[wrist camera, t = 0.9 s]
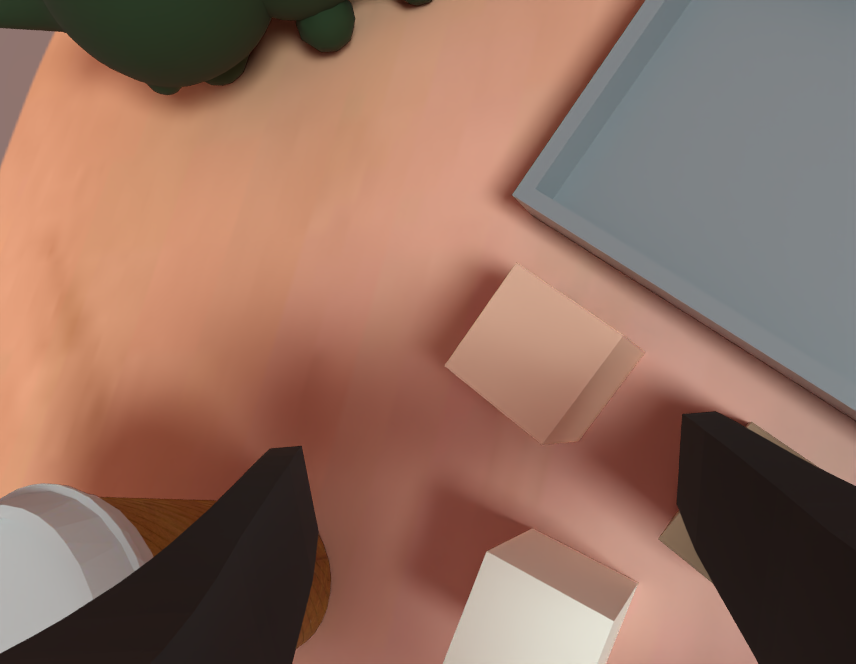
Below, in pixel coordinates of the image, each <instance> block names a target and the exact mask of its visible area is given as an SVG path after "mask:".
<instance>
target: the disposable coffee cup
mask: <svg viewBox="0 0 856 664" xmlns="http://www.w3.org/2000/svg"><path fill="white" fill-rule="evenodd" d="M216 502H217V501H214V500H183V499H147V498H114V497H98V496H96V495H92V494H87V493H85V492H82V491H80V490H78V489H75V488H73V487H71V486H66V485H57V484H35V485H30V486H26V487H23V488H20V489H16V490H15V491H13V492H11V493H9V494H8V495H6V496H4V497H2V498H1V499H0V653H2V652H4V651H6V650H8V649H9V648H11V647H13V646H15V645H17V644H19V643H21V642H23V641H24V640H26V639H28V638H30V637H32V636H34V635H35V634H37V633H39V632H41V631H42V630H44V629H46V628H48V627H50V626H51V625H53V624H55V623H57V622H58V621H60V620H62V619H63V618H65V617H67V616H68V615H70V614H71V613H73V612H74V611H76V610H78V609H79V608H81V607H82V606H84V605H85V604H87V603H88V602H90V601H92V600H93V599H95V598H96V597H98V596H99V595H101V594H102V593H104V592H106V591H107V590H109V589H110V588H112V587H113V586H115V585H116V584H118V583H119V582H121V581H122V580H123V579H125V578H126V577H128V576H129V575H130V574H132V573H133V572H134V571H136V570H137V569H138V568H140V567H141V566H142V565H144V564H145V563H146V562H148V561H149V560H150V559H152V558H153V557H154V556H155V555H157V554H158V553H159V552H161V551H162V550H163V549H164V548H165V547H167V546H168V545H169V544H170V543H171V542H173V541H174V540H175V539H176V538H177V537H178V536H179V535H180V534H182V533H183V532H184V531H185V530H186V529H187V528H188V527H189V526H191V525H192V524H193V523H194V522H195V521H196V520H197V519H198V518H200V517H201V516H202V515H203V514H204V513H205V512H206V511H207V510H208V509H209V508H211V507H212V506H213V505H214V504H215V503H216ZM330 585H331V575H330V567H329V561H328V558H327V554H326V551H325V548H324V545H323V543H322V541H321V538H320V536H319V534H318V542H317V551H316V560H315V568H314V576H313V582H312V586H311V590H310V595H309V599H308V603H307V607H306V611H305V615H304V619H303V623H302V626H301V630H300V634H299V638H298V642H297V646H296V648H298V647H299V646H300V645H302V644H304V643H305V642H306V641H307V640H308V639H309V638H310V637H311V636H312V635H313V634H314V633H315V631H316V630H317V628H318V627H319V625H320V623H321V622H322V619H323V617H324V614H325V612H326V609H327V606H328V600H329V595H330Z"/></svg>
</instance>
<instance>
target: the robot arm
mask: <svg viewBox="0 0 856 664" xmlns="http://www.w3.org/2000/svg"><path fill="white" fill-rule="evenodd" d="M677 506H678V509H679V512H680V514H681V517H682V519H683V522H684V525H685V527H686V530H687V532H688V535H689V537H690V540H691V542H692V544H693V547H694V549H695V551H696V553H697V555H698V557H699V559H700V561H701V563H702V564H703V566H704V568H705V570H706V571H707V573H708V575H709V577H710V579H711V580H712V582H713V584H714V586H715V588H716V589H717V591H718V593H719V595H720V596H721V598H722V600H723V602H724V603H725V605H726V607H727V609H728V610H729V612H730V614H731V616H732V617H733V619H734V621H735V623H736V624H737V626H738V628H739V630H740V631H741V633H742V635H743V637H744V638H745V640H746V642H747V644H748V645H749V647H750V649H751V651H752V652H753V654H754V656H755V658H756V660H757V662H758V664H856V486H854V485H852V484H850V483H848V482H846V481H844V480H842V479H840V478H838V477H836V476H834V475H832V474H830V473H828V472H826V471H824V470H822V469H820V468H818V467H816V466H814V465H813V464H811V463H809V462H807V461H805V460H803V459H801V458H800V457H798V456H796V455H794V454H792V453H791V452H789V451H787V450H785V449H783V448H782V447H780V446H778V445H776V444H775V443H773V442H771V441H769V440H767V439H766V438H764V437H762V436H760V435H759V434H757V433H755V432H753V431H752V430H750V429H748V428H746V427H745V426H743V425H741V424H739V423H737V422H736V421H734V420H732V419H730V418H728V417H726V416H724V415H722V414H720V413H718V412H703V413H691V414H682V427H681V443H680V458H679V474H678V489H677ZM318 533H319V532H318V527H317V522H316V517H315V512H314V507H313V501H312V496H311V491H310V486H309V481H308V476H307V471H306V466H305V461H304V456H303V451H302V446H295V447H283V448H271V449H269V450H268V451H267V452H266V453H265V454H264V455H263V456H262V457H261V458H260V459H259V460H258V461H257V462H256V463H255V464H254V465H253V466H252V467H251V468H250V469H249V470H248V471H247V472H246V473H245V474H244V475H243V476H242V477H241V478H240V479H239V480H238V481H237V482H236V483H235V484H234V485H233V486H232V487H231V488H230V489H229V490H228V491H227V492H226V493H225V494H224V495H223V496H222V497H221V498H220V499H219V500H218V501H217V502H216V503H215V504H214V505H213V506H212V507H211V508H209V509H208V510H207V511H206V512H205V513H204V514H203V515H202V516H201V517H200V518H198V519H197V520H196V521H195V522H194V523H193V524H192V525H191V526H189V527H188V528H187V529H186V530H185V531H184V532H183V533H182V534H180V535H179V536H178V537H177V538H176V539H175V540H174V541H173V542H171V543H170V544H169V545H168V546H167V547H165V548H164V549H163V550H162V551H161V552H159V553H158V554H157V555H155V556H154V557H153V558H152V559H150V560H149V561H148V562H146V563H145V564H144V565H142V566H141V567H140V568H138V569H137V570H136V571H134V572H133V573H132V574H130V575H129V576H128V577H126V578H125V579H123V580H122V581H121V582H119V583H118V584H116V585H115V586H113V587H112V588H110V589H109V590H107V591H106V592H104V593H102V594H101V595H99V596H98V597H96V598H95V599H93V600H92V601H90V602H88V603H87V604H85V605H84V606H82V607H81V608H79V609H78V610H76V611H74V612H73V613H71V614H70V615H68V616H67V617H65V618H63V619H62V620H60V621H58V622H57V623H55V624H53V625H51V626H50V627H48V628H46V629H44V630H42V631H41V632H39V633H37V634H35V635H34V636H32V637H30V638H28V639H26V640H24V641H23V642H21V643H19V644H17V645H15V646H13V647H11V648H9V649H8V650H6V651H4V652H2V653H0V664H292V662H293V658H294V654H295V650H296V646H297V642H298V638H299V634H300V630H301V626H302V623H303V619H304V615H305V611H306V607H307V603H308V599H309V595H310V590H311V586H312V582H313V576H314V568H315V560H316V551H317V542H318Z"/></svg>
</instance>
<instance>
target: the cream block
mask: <svg viewBox="0 0 856 664" xmlns="http://www.w3.org/2000/svg"><path fill="white" fill-rule="evenodd" d="M637 585H638V582H636V581H634V580H632V579H630V578H628V577H627V576H625V575H623V574H621V573H619V572H617V571H615V570H613V569H611V568H609V567H607V566H605V565H603V564H601V563H599V562H597V561H595V560H593V559H592V558H590V557H588V556H586V555H584V554H582V553H580V552H578V551H576V550H574V549H572V548H570V547H568V546H566V545H564V544H562V543H560V542H558V541H557V540H555V539H553V538H551V537H549V536H547V535H545V534H543V533H541V532H539V531H537V530H535V529H533V528H532V529H530V530H528V531H526V532H524V533H522V534H520V535H518V536H516V537H514V538H512V539H510V540H508V541H506V542H504V543H502V544H500V545H498V546H496V547H494V548H492V549H490V550H488V551H487V552H486V554H485V557H484V559H483V562H482V565H481V567H480V570H479V572H478V575H477V577H476V580H475V582H474V585H473V588H472V590H471V593H470V595H469V598H468V600H467V603H466V606H465V608H464V611H463V613H462V616H461V618H460V621H459V623H458V626H457V629H456V631H455V634H454V636H453V639H452V641H451V644H450V647H449V649H448V652H447V654H446V657H445V659H444V662H443V664H606V662H607V660H608V657H609V655H610V652H611V650H612V647H613V645H614V642H615V640H616V637H617V635H618V632H619V630H620V627H621V625H622V622H623V620H624V617H625V615H626V613H627V610H628V608H629V605H630V603H631V600H632V598H633V595H634V593H635V590H636V588H637Z"/></svg>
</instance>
